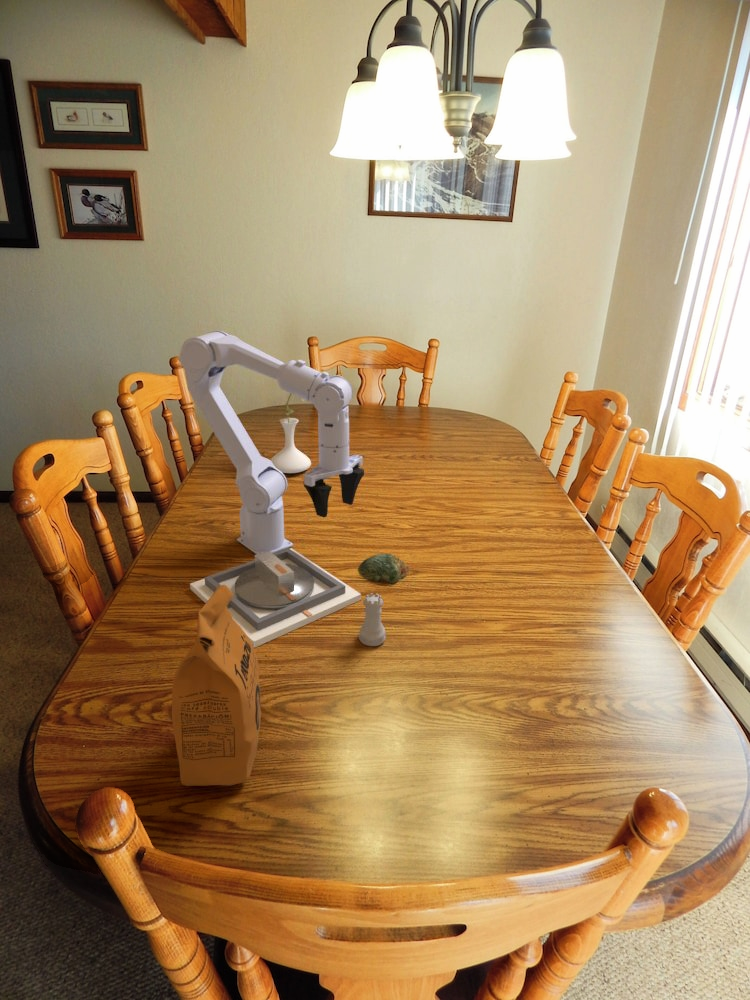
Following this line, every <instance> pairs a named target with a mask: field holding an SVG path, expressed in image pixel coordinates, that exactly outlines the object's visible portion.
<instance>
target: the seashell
mask: <svg viewBox="0 0 750 1000" xmlns="http://www.w3.org/2000/svg"><path fill="white" fill-rule="evenodd" d="M410 572H411V570H410V569H409V566H407V564H406V563H404V560H402V559H400V556H396V555H392V553H378V554H374V555H372V556H369V557H368V558H366V559H364V560H363V561H362V562H361V563H359V566H358V573H359V574H360V575H361V577H363V578H364V579H367V580H371V581H375V582H377V583H378V582H379V583H380V582H385V583H389V584H396V583H397V582H398V581H399V580H401V579H404V578H406V577H407V576H408V575H410Z"/></svg>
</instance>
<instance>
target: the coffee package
mask: <svg viewBox="0 0 750 1000" xmlns="http://www.w3.org/2000/svg"><path fill="white" fill-rule="evenodd" d="M232 597H233V593H232V592H231V591H230V590H229V588H228V587H227V586H226V585H219V586H218V588H217V589H216V591H215V592H214V594H213V595H212V596H211V597H210V599H209V600H208V601H207V602H206V603H205V604H204V605H203V607H202V608H201V609H200V610H199V611H198V614H197V615H198V617H197V631H196V633H197V634H196V638H195V643H194V644H193V646H192V647H191V648H190V649H189V650H188V652H187V654H186V655H185V656H184V658H183V659H182V660H181V661H180V662H179V665H178V667H177V669H176V672H175V674H174V677H173V679H172V688H171V691H172V692H171V716H172V718H171V719H172V731H173V735H174V741H175V749H176V753H177V758H178V765H179V778H180V783H181V785H183V786H186V787H192V786H199V787H201V786H202V787H204V786H205V787H206V786H234V785H236V784H237V785H238V784H243V783H244V784H245V783H247V782H248V780H249V779H250V777H251V774H252V770H253V767H254V762H255V759H256V754H257V749H258V742H259V735H260V727H261V718H262V711H261V686H260V675H259V674H260V672H259V670H260V669H259V660H258V657H257V652H256V651H255V648H254V647H253V644H252V642H251V641H250V639H249V638H248V636H247V635H246V633H245V632H244V631H243V629H242V628H241V627H240V626H239V625H238V624H237V623H236V622H235V621H234V620H233V619H232V616H231V614H230V612H229V610H228V608H227V604H228V603H229V602H230V601H231V599H232Z"/></svg>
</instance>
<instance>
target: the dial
mask: <svg viewBox="0 0 750 1000" xmlns="http://www.w3.org/2000/svg"><path fill="white" fill-rule="evenodd" d="M254 560H255V567H253V568H251V569H249V570H247V571H245V572H244V573H242V574H241V575H240V576H239V577H238V578H237V580H236V582H235V594H236V596H237V598H238V599H239V600H240V601H241V602H243V603H244V604H246V605H248V606H251V607H254V608H259V609H283V608H285V607H287V606H290V605H292V604H295V603H297V602H299V601H302V600H304V599H306V598H308V597H309V596H310V595H311V594H312V592H313V590H314V579H313V576H312V575H311V574H310V573H309V572H308V571H307V570H305V569H303V568H301V567H299V566H296V565H291V564H284V563H283V562H282V561H281V560H280V559H279V558H277V557H276V556H275V555H274V554H273V553H272V552H270V551H267V552H263V553H260V554H254Z"/></svg>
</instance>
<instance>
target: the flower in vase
mask: <svg viewBox="0 0 750 1000" xmlns="http://www.w3.org/2000/svg"><path fill="white" fill-rule="evenodd" d="M291 397H292V394H291V393H289V396H288V399H287V401H286V402H285V406H286V413H285V416H287V417H285V418H281V419H279V422H280V424H281V427H282V429H283V431H284V435H285V436H284V439H285V441H284V442H285V443H284V447H283V448H282V449H281V450H280V451H278V452H277V453H276V454H275V455H273V456H272V457H271V459H270V460H271V461H272V463H273V465H274V466H275V467H276V468H277V469H278V470H280V471H281V472H282V473H283V474H296V473H301V472H304V471H307V470H308V469H309V468H310V467H311V466H312V461H311V459H310V458H309V457H308V456H307V454H305V453H303V452H302V451H300V450H299V449H297V447H296V445H295V440H294V439H295V437H294V436H295V429H296V426H297V424H298V423H299V421H300V420H299V419H298V418H295V417H290V416H289V415H291V414H292V413H295V410H293V409H290V407H289V403H290V399H291ZM298 399H300V400H301V402H306V400H304V399H302V398H300V397H298Z"/></svg>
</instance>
